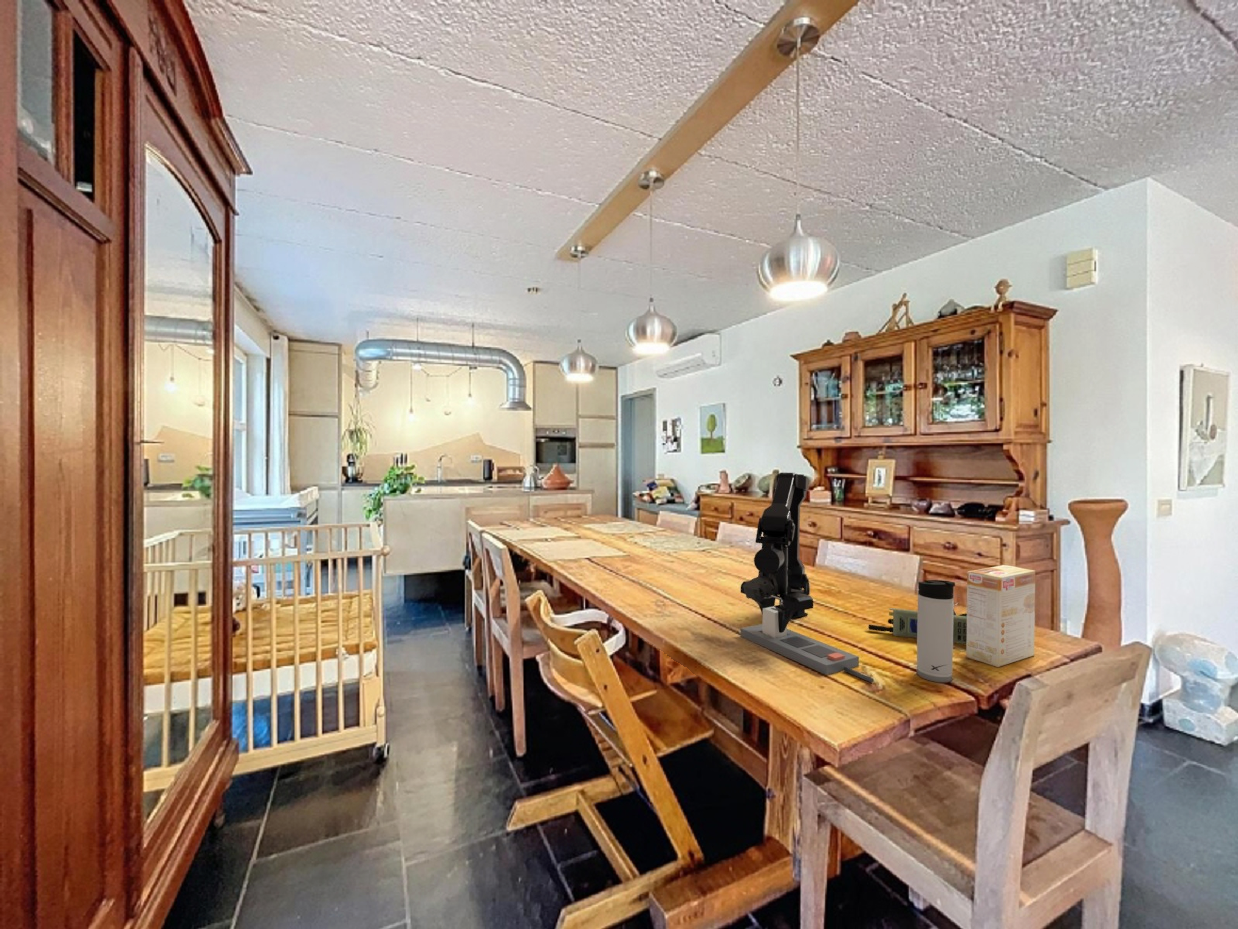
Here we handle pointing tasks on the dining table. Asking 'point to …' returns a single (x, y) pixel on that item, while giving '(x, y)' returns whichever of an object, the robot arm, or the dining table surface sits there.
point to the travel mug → (935, 630)
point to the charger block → (772, 623)
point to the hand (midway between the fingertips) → (774, 629)
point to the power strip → (806, 651)
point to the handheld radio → (907, 625)
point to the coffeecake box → (1000, 614)
